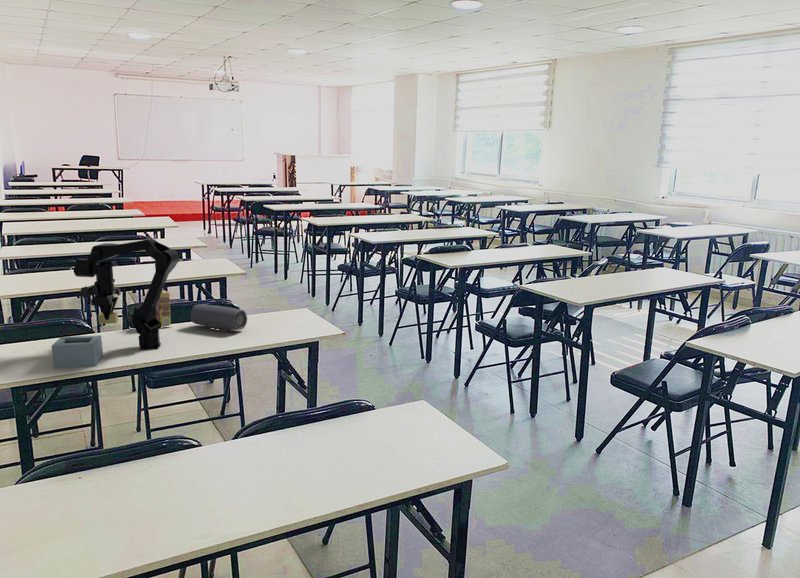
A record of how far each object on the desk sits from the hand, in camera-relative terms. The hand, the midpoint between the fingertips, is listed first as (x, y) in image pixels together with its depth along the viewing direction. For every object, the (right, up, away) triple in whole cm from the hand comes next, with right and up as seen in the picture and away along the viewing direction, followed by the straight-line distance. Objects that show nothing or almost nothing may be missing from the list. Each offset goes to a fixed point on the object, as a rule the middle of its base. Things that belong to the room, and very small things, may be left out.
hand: (108, 318), depth 227 cm
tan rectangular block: (0, -2, 0) cm, 2 cm away
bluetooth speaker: (+34, -6, +25) cm, 43 cm away
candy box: (+9, -5, +29) cm, 31 cm away
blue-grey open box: (-2, -15, -17) cm, 23 cm away
